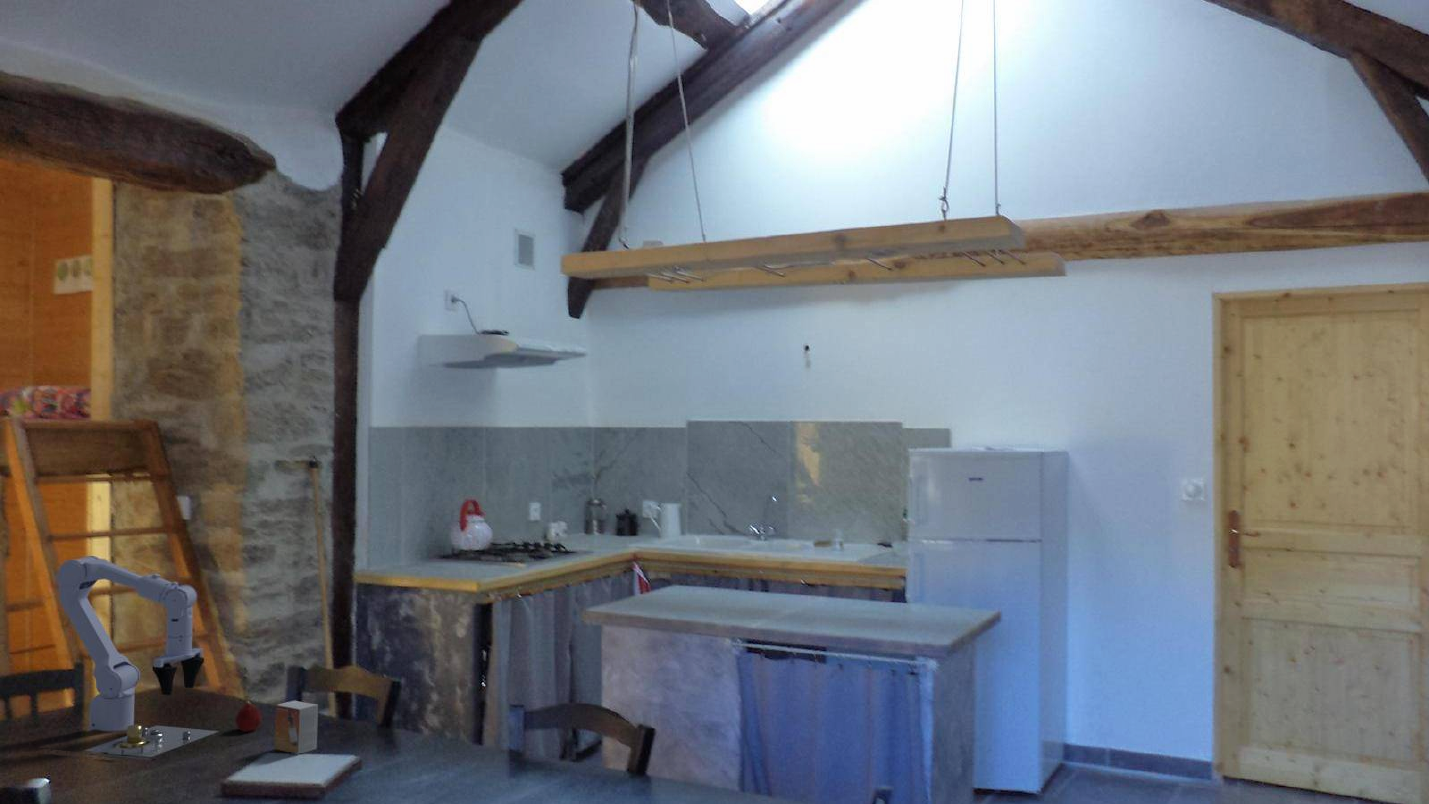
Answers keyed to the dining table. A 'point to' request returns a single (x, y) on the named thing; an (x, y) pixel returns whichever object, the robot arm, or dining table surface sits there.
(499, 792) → the dining table surface
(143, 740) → the gear
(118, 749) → the carrier plate
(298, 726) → the small box
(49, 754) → the dining table surface
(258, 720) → the onion
